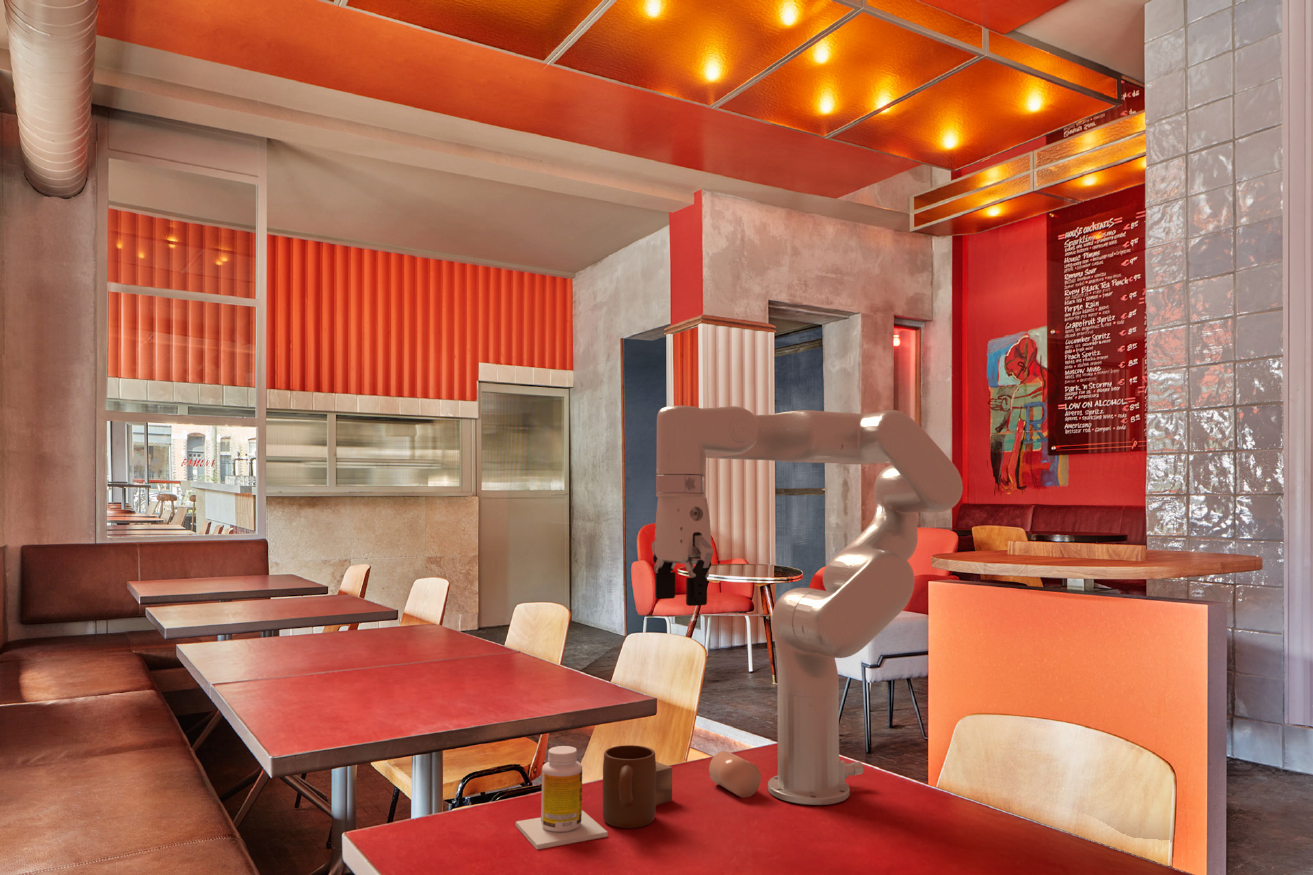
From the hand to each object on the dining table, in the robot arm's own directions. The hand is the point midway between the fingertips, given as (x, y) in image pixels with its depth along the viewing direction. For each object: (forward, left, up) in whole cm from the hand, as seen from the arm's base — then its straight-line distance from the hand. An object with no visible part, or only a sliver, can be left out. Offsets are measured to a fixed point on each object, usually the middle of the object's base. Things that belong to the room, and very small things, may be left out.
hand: (680, 601), depth 127 cm
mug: (+9, +2, -31) cm, 32 cm away
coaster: (+18, 0, -30) cm, 36 cm away
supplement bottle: (+18, 0, -30) cm, 35 cm away
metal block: (+2, -6, -30) cm, 31 cm away
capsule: (-10, -4, -28) cm, 30 cm away
